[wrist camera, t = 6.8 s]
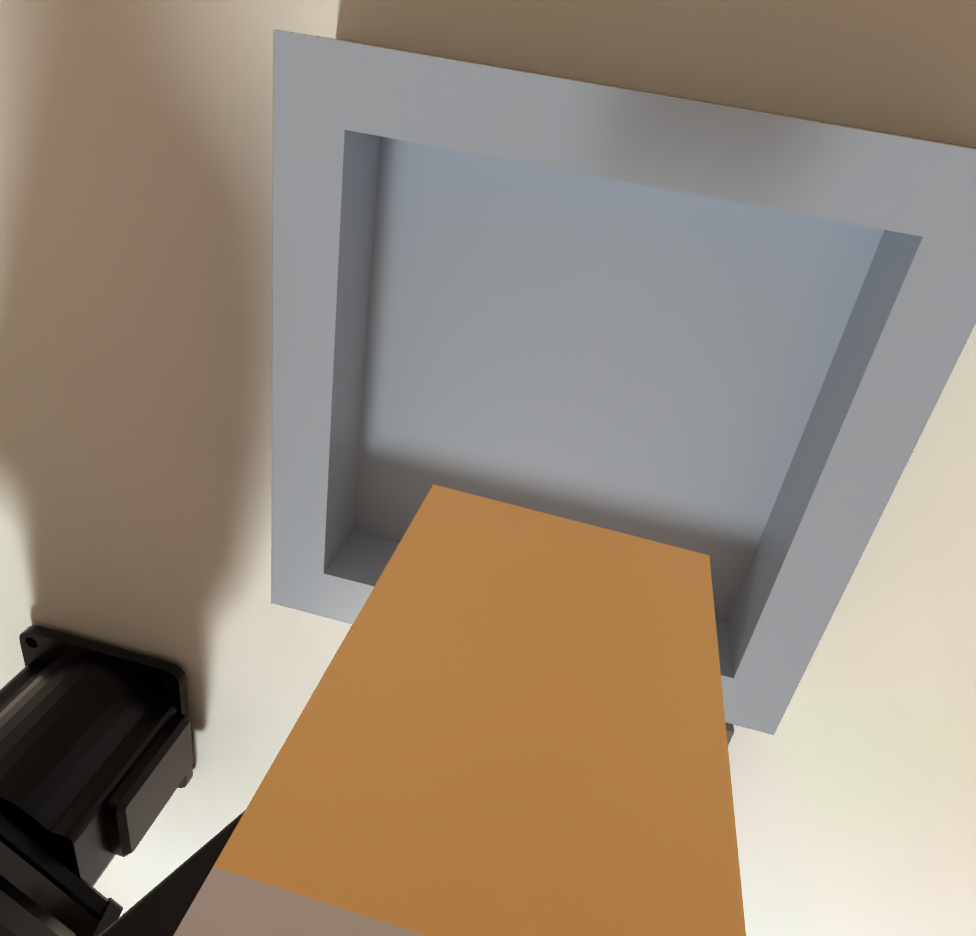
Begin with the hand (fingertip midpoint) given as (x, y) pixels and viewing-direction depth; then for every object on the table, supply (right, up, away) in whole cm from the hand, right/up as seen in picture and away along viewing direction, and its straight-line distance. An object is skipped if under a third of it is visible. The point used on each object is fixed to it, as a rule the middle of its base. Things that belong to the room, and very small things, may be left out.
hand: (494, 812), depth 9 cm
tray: (+2, +6, +10) cm, 12 cm away
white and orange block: (0, +1, +2) cm, 2 cm away
